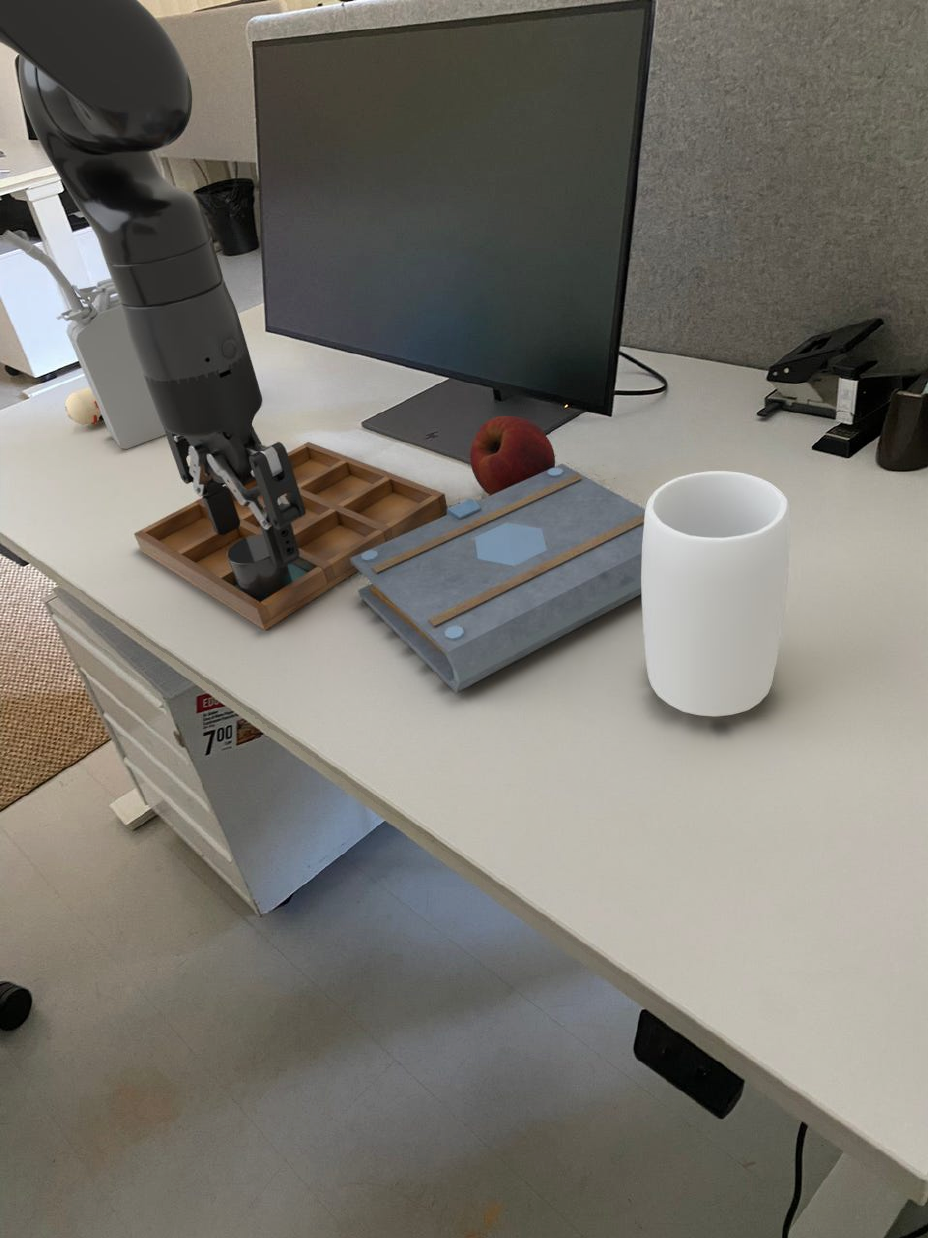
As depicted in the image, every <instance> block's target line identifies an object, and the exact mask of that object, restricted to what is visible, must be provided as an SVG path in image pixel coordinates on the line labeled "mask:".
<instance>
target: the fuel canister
mask: <svg viewBox="0 0 928 1238" xmlns="http://www.w3.org/2000/svg"><path fill="white" fill-rule="evenodd" d="M1 238H2V240H4V241H6V242H7V243H9V244H11V245H13V246H14V247H16V248H17V249H20V250H21V251H23V252H24V253H25V255H27V256H29V257H30V258H32V259H33V260H35V261H37V262H39V263H41V264H42V265H43V266H45V268H46V269H47V271H48V272H49V273H50V274H51V276H52V277H53V278H54V280H55V281H56V282H57V284H58V285H59V286H60V288H61V289H62V291H63V293H64V295H65V297H66V300H67V302H68V304H69V306H70V309H69V310H66V311H64V312H61V313H60V315H59V316H56V319H57V320H58V321H59V320H61V319H63V320H64V321H66V322H69V321H70V322H69V324H67V327H66V334H67V337H68V339H69V341H70V344H71V346H72V348H73V351H74V353H75V355H76V358H77V360H78V362H79V365H80V368H81V369H82V372H83V374H84V376H85V379H86V381H87V384H88V387H90V388H91V391H92V393H93V395H94V398H95V400H96V402H97V405H98V407H99V409H100V412H101V414H102V416H103V419H104V420H103V421H104V424H105V425H106V429H107V430H108V433H109V435H110V436H111V437H112V439H113V440H114V441H115V443H117V444H118V446H119V447H120V448H122V449H126V450H128V449H131V448H133V447H136V446H138V445H141V444H144V443H147V442H150V441H152V440H156V439H158V438H161V437H163V436H166V433H165V430H164V427H163V426H162V424H161V421H160V419H159V416H158V413H157V411H156V408H155V405H154V402H153V400H152V397H151V394H150V392H149V389H148V386H147V384H146V381H145V378H144V376H143V373H142V370H141V368H140V365H139V362H138V360H137V357H136V354H135V351H134V349H133V346H132V343H131V340H130V337H129V334H128V330H127V326H126V321H125V316H124V312H123V309H122V306H121V302H120V300H119V297H118V294H117V292H116V289H115V286H114V283H113V281H112V278H111V277H110V278H106V279H103V280H100V281H97V282H96V285H94V286H93V285H92V286H88V287H84V288H83V287H82V288H78V286H77V285H75V284H72V283H71V282H70V280H69V279H68V278H67V277H66V276H65V275H64V273H63V271H62V270H61V269H60V268H59V267H58V265H57V264H56V263H55V261H54V260H53V258H51V256H48V254H46V253H45V252H44V250H42V249H41V248H40V247H38V246H36V244H34V243H30V242H29V241H27V240H26V239H24V238H22V237H21V236H19V235H18V234H16V233H14V232H12V231H10V230H9V229H6V230H5V232H3V235H2V236H1ZM94 290H95V291H94ZM112 295H113V296H112ZM84 305H86V306H84Z"/></svg>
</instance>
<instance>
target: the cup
mask: <svg viewBox="0 0 928 1238" xmlns="http://www.w3.org/2000/svg"><path fill="white" fill-rule="evenodd" d="M644 509H645V518H644V529H643V540H642V564H641V592H642V594H641V613H642V631H643V632H642V633H643V643H644V644H643V645H644V654H645V663H646V671H647V678H648V680H649V683H650V686H651V688H652V689H653V690H654V692H655V693H656V695H657V696H658V698H660V699H661V700H662V701H664V702H665V703H666V704H668V705H669V706H671V707H672V708H675V709H677V710H679V711H681V712H683V713H686V714H690V715H691V714H692V715H696V716H703V717H704V716H705V717H725V716H731V715H736V714H739V713H743V712H747V711H749V710H751V709H752V708H754V707H756V706H758V705H759V704H760V703H761V702H762V701H763V700H764V699H765V698H766V697H767V696H768V694H769V692H770V689H771V687H772V685H773V681H774V675H775V672H776V667H777V661H778V655H779V650H780V643H781V638H782V631H783V623H784V618H785V617H784V616H785V609H786V600H787V592H788V582H789V566H790V565H789V563H790V501H789V500H788V498H787V497H786V495H785V494H784V493H783V492H782V491H781V490H780V489H779V488H777V487H776V486H775V485H774V484H773V483H771V482H770V481H767V480H765V479H763V478H761V477H758V476H755V475H751V474H748V473H745V472H739V471H729V470H708V471H702V472H694V473H693V472H692V473H690V474H685V475H682V476H681V475H680V476H677V477H675V478H673V479H671V480H670V481H667V482H665V483H664V484H662V485H661V486H660V487H658V488H657V489H656V490H655V491H653V492H652V494H651V495H650V497H649V498H648V500H647V501H646V505H645V508H644Z"/></svg>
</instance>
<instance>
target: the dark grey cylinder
mask: <svg viewBox="0 0 928 1238" xmlns="http://www.w3.org/2000/svg"><path fill="white" fill-rule="evenodd" d="M227 558H228V561H229V564H230V566H231V569H232V572H233V574H234V577H235V580H236V582H237V585H238V588H239V590H241V591H243V592H244V593H246V594H248V595H249V596H251V597H253V598H254V599H256V600H258V601H259V602H261V601H263V600H265V599H266V598H268V597H269V596H271V595H273V594H274V593H276V592H278V591H279V590H281V589H282V588H284V587H286V586H287V585H289V584H290V583H292V578H291V574H290V571H289V568H288V565H286V566H285V567H283V568H279V567H277V566H276V565H274V564H273V563H272V561H271V558H270V555H269V551H268V548H267V545H266V542H265V539H264V536H263V534H258V535H253V536H249V537H246V538H244V539H242V540H240V541H238V542H236V543H235V544H234V545H233V546H232V547H231V548H230V549H229V550H228V553H227Z"/></svg>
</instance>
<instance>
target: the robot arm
mask: <svg viewBox="0 0 928 1238" xmlns="http://www.w3.org/2000/svg"><path fill="white" fill-rule="evenodd" d="M0 43H1V44H3V45H4V46H6V47H8V48H9V49H11V50H12V51H14V52H15V53H16V54H18V55H19V56H18V57H19V59H18V81H19V85H20V87H19V88H20V93H21V98H22V103H23V105H24V108H25V112H26V114H27V117H28V119H29V122H30V124H31V127H32V129H33V132H34V133H35V136H36V138H37V140H38V141H39V142H38V143H40V145H41V147H42V150H43V151H44V153H45V154H46V156H47V158H48V160H49V161H50V163H51V165H52V166H53V168H54V170H55V172H56V174H57V175H58V176H59V178H60V180H61V181H62V183H63V185H64V186H65V189H66V190H67V192H68V193H69V195H70V197H71V198H72V200H73V202H74V204H75V205H76V206H77V208H78V209H79V211H80V212H81V214H82V216H83V217H84V219H85V220H86V222H87V223H88V224H89V226H90V227H91V229H92V231H93V232H94V234H95V236H96V238H97V240H98V243H99V246H100V250H101V253H102V256H103V259H104V261H105V264H106V267H107V270H108V272H109V275H110V278H112V281H113V283H114V286H115V289H116V292H117V293H116V295H118V297H119V300H120V302H121V306H122V309H123V312H124V316H125V321H126V326H127V330H128V334H129V337H130V340H131V343H132V346H133V349H134V351H135V354H136V357H137V360H138V362H139V365H140V368H141V370H142V373H143V376H144V378H145V381H146V384H147V386H148V389H149V392H150V394H151V397H152V400H153V402H154V405H155V408H156V411H157V413H158V416H159V419H160V421H161V424H162V426H163V427H164V430H165V433H166V435H165V436H166V439H167V442H168V444H169V448H170V450H171V454H172V456H173V459H174V462H175V465H176V468H177V470H178V473H179V477H180V479H181V480H182V481H183V483H184V484H186V485H188V484H190V483H192V487H193V490H194V492H195V493H196V494H197V495H198V497H200V498H202V499H203V501H204V504H205V507H206V510H207V512H208V515H209V518H210V521H211V523H212V526H213V529H214V531H215V532H216V533H217V534H219V535H221V536H223V535H226V534H228V533H229V532H231V531H233V530H235V529H237V528H238V527H239V526H240V519H239V516H238V513H237V510H236V508H235V505H234V502H233V499H232V496H231V493H230V490H231V492H232V493H233V495H234V496H235V498H236V499H237V501H238V502H239V504H240V505H242V506H247V507H249V508H250V509H251V511H252V512H253V514H254V515H255V517H256V518H257V520H258V521H259V523H260V525H261V526H262V527H261V530H262V533H263V536H264V539H265V542H266V545H267V548H268V551H269V555H270V558H271V561H272V563H273V564H274V565H276V566H277V567H279V568H283V567H285V566H286V565H288V564H290V563H291V562H293V561H295V560H296V559H297V558H298V557H299V554H300V553H299V549H298V545H297V542H296V539H295V535H294V532H293V529H292V525H291V522H293V521H295V520H296V519H298V518H301V517H302V516H304V515H305V514H306V511H305V507H304V504H303V501H302V498H301V495H300V492H299V489H298V485H297V482H296V479H295V476H294V473H293V470H292V467H291V463H290V460H289V457H288V454H287V453H288V452H287V449H286V447H285V445H284V444H283V442H281V441H277V442H275V443H273V444H271V445H268V446H267V445H264V444H263V443H262V442H261V439H260V438H259V436H258V434H257V432H256V430H255V427H254V426H253V422H254V418H255V416H256V414H257V413H258V412H259V411H260V409H261V407H262V405H263V395H262V392H261V389H260V386H259V382H258V378H257V375H256V372H255V368H254V364H253V362H252V357H251V355H250V351H249V348H248V344H247V340H246V337H245V334H244V331H243V327H242V323H241V321H240V317H239V314H238V311H237V308H236V305H235V302H234V301H233V298H232V296H231V294H230V292H229V289H228V287H227V283H226V281H225V278H224V275H223V271H222V268H221V265H220V262H219V261H220V260H219V258H218V254H217V251H216V248H215V244H214V240H213V238H212V234H211V231H210V228H209V224H208V222H207V218H206V216H205V213H204V211H203V208H202V207H201V204H200V203H199V201H198V200H197V199H196V198H195V196H193V195H192V194H191V193H190V192H188V191H186V190H184V189H182V188H180V187H178V186H176V185H173V184H172V183H170V182H169V181H168V180H166V179H165V177H163V175H162V174H161V172H160V170H159V169H158V167H157V165H156V163H155V161H154V159H153V157H152V155H151V153H150V152H155V151H158V150H161V149H164V148H166V147H168V146H170V145H172V144H173V143H174V142H175V141H177V140H178V139H179V138H180V137H181V136H182V135H183V134H184V132H185V130H186V128H187V126H188V124H189V122H190V118H191V115H192V108H193V91H192V84H191V81H190V75H189V73H188V69H187V67H186V64H185V62H184V60H183V57H182V56H181V53H180V52H179V50H178V47H177V46H176V44H175V43H174V41H173V39H172V38H171V36H170V35H169V33H168V32H167V31H166V30H165V28H164V27H163V26H162V24H161V23H160V22H159V20H157V18H156V17H155V16H154V15H153V14H152V12H150V11H149V9H148V8H147V7H145V6H144V4H142V3H141V2H140V1H139V0H0ZM188 457H190V461H189V462H190V463H188ZM254 481H257V484H258V486H256V487H254V488H252V489H246V488H244V487H245V486H247V485H249V484H250V483H252V482H254ZM225 485H227V486H228V487H229V488H228V487H226V486H225ZM229 489H230V490H229ZM284 494H286V495H287V498H288V501H289V502H288V501H287V499H286V497H285V496H284ZM261 497H262V499H263V501H264V504H265V507H266V510H267V512H266V510H265V509H264V507H263V506H262V504H261V503H260V501H259V498H261Z"/></svg>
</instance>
